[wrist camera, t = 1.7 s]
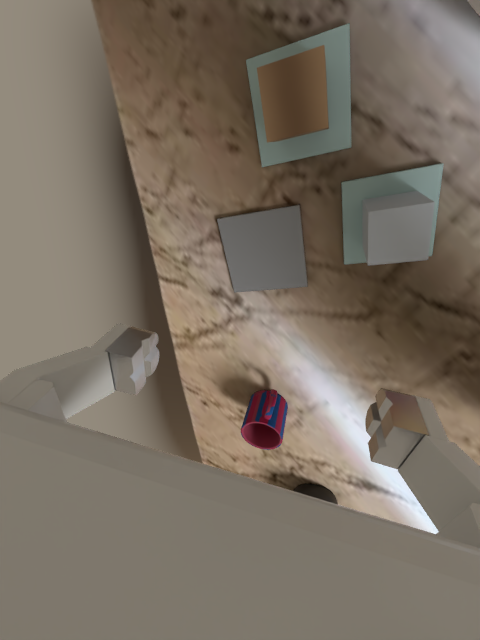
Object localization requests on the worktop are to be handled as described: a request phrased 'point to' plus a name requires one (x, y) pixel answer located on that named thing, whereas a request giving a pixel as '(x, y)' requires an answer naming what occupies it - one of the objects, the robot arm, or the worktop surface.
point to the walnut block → (294, 95)
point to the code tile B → (384, 185)
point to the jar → (316, 492)
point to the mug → (265, 420)
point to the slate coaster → (265, 249)
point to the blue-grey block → (397, 228)
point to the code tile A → (337, 99)
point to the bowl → (475, 5)
